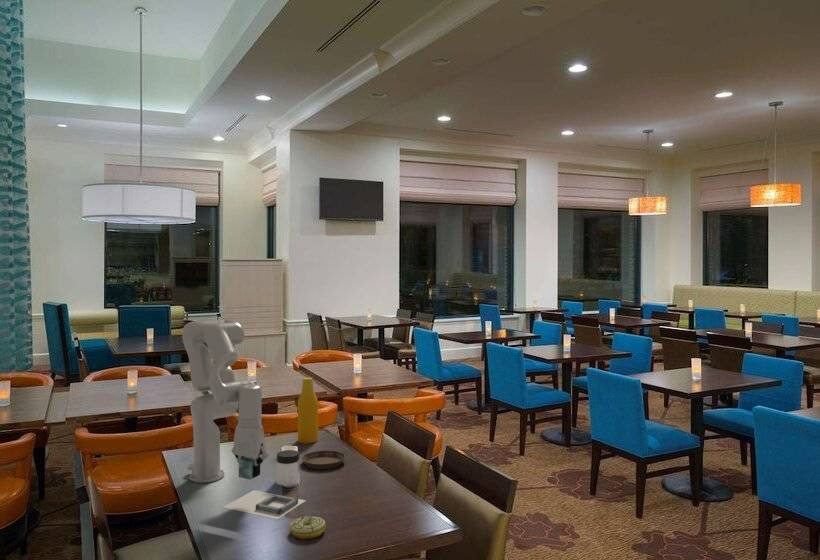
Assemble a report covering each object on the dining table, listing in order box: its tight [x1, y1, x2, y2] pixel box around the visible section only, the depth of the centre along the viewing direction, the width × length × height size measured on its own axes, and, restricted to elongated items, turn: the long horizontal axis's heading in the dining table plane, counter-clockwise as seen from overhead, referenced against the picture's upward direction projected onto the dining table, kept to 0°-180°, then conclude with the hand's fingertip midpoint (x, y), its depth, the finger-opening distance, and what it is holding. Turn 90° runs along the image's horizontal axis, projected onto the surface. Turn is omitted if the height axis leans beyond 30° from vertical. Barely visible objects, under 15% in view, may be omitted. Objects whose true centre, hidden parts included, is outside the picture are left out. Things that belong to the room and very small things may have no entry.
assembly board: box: [222, 489, 307, 520], centre depth 198 cm, size 22×16×3 cm
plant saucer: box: [301, 450, 346, 470], centre depth 243 cm, size 18×18×3 cm
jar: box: [275, 449, 300, 487], centre depth 218 cm, size 9×8×12 cm
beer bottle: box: [297, 377, 319, 444], centre depth 273 cm, size 9×9×29 cm
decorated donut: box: [288, 515, 327, 540], centre depth 181 cm, size 10×11×4 cm
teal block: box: [238, 457, 258, 480], centre depth 201 cm, size 5×5×6 cm
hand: (249, 474), depth 201 cm, fingers closed on teal block, 5 cm apart
